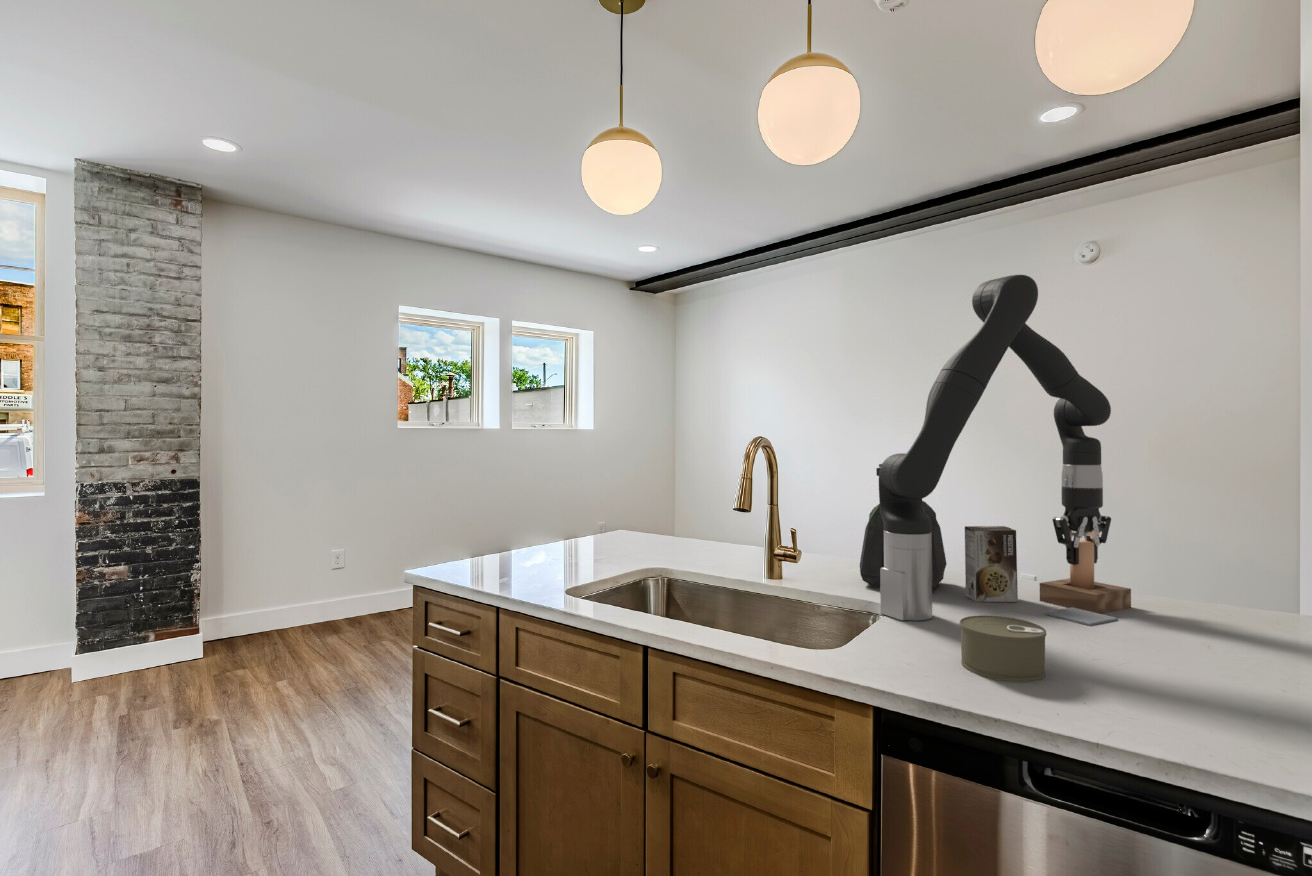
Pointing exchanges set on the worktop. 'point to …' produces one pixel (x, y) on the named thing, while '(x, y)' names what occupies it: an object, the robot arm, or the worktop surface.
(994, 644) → the can
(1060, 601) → the bore block
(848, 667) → the worktop surface
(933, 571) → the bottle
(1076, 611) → the rubber mat
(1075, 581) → the peach orange cylinder
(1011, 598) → the coffee box
